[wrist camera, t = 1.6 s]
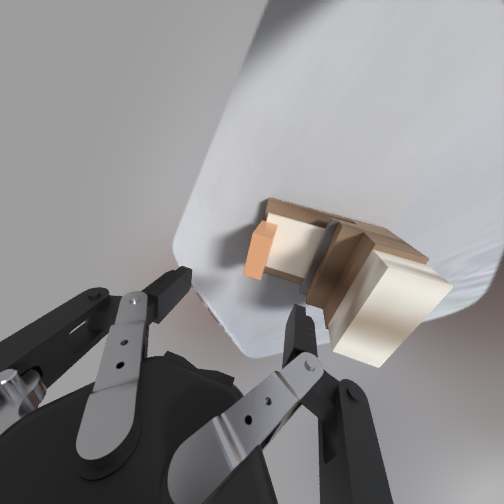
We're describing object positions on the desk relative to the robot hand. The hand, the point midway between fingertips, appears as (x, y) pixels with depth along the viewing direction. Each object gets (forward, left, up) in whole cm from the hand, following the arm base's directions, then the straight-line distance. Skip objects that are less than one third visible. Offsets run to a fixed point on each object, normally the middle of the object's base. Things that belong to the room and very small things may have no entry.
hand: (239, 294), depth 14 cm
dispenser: (0, +7, -13) cm, 15 cm away
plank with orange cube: (0, +4, -11) cm, 12 cm away
